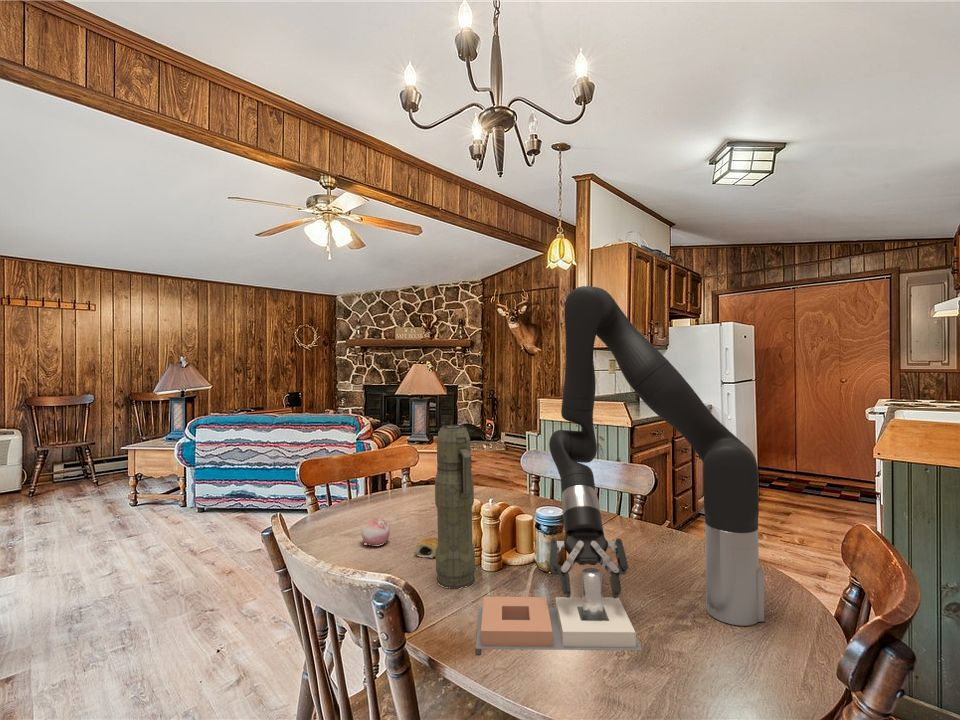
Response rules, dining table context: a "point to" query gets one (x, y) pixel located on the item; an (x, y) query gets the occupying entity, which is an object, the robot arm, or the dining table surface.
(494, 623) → the dock board
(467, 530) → the thermos
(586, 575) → the steel pin
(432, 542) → the pastry
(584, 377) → the robot arm
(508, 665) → the dining table surface
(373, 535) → the onion
